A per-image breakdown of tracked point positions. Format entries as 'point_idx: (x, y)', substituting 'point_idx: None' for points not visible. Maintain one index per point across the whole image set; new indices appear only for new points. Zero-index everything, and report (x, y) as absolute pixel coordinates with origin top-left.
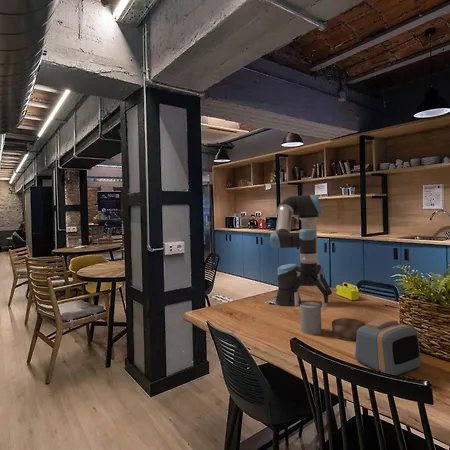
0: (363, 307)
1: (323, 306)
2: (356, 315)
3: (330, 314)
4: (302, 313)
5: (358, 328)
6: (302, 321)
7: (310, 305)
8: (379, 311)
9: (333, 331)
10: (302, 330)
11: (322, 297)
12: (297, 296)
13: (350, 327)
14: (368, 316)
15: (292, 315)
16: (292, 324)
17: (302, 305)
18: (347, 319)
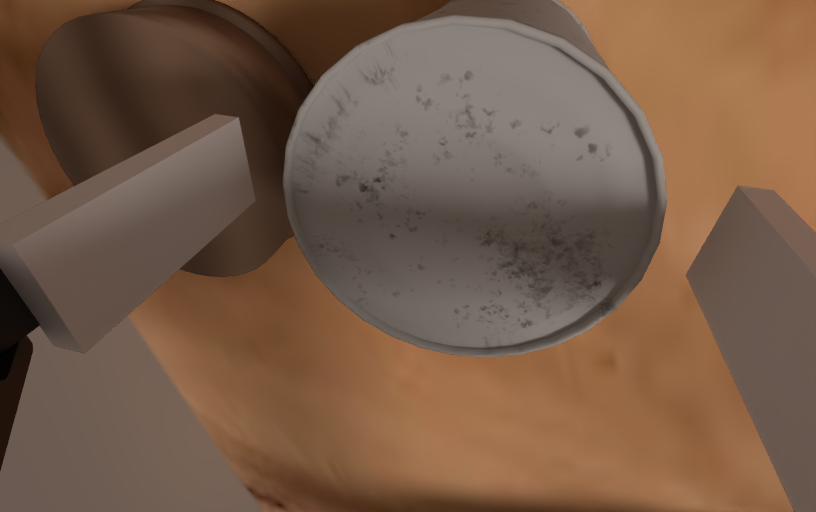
0: (339, 491)
1: (181, 137)
2: (324, 415)
3: (449, 417)
4: (574, 36)
5: (39, 74)
6: (572, 24)
7: (447, 213)
8: (267, 457)
9: (271, 70)
10: (570, 14)
11: (43, 222)
12: (785, 384)
13: (91, 71)
14: (275, 409)
15: (722, 381)
16: (710, 192)
17: (596, 165)
18: (217, 252)
